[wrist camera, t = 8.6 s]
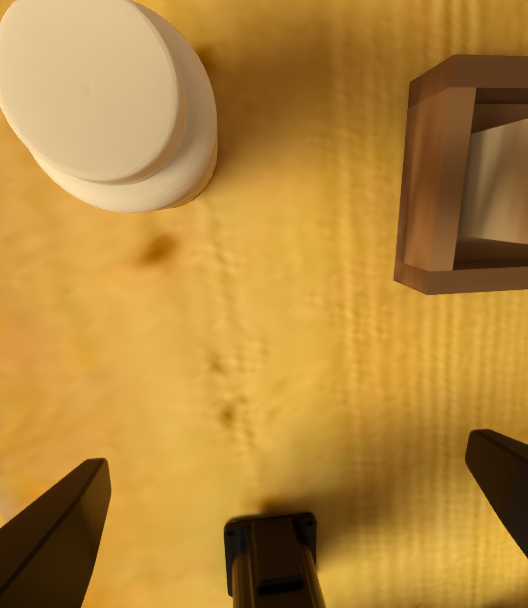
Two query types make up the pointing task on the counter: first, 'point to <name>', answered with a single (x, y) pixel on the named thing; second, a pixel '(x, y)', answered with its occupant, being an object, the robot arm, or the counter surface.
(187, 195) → the supplement bottle
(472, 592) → the counter surface
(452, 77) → the bin
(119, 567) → the counter surface
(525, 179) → the cream cube
